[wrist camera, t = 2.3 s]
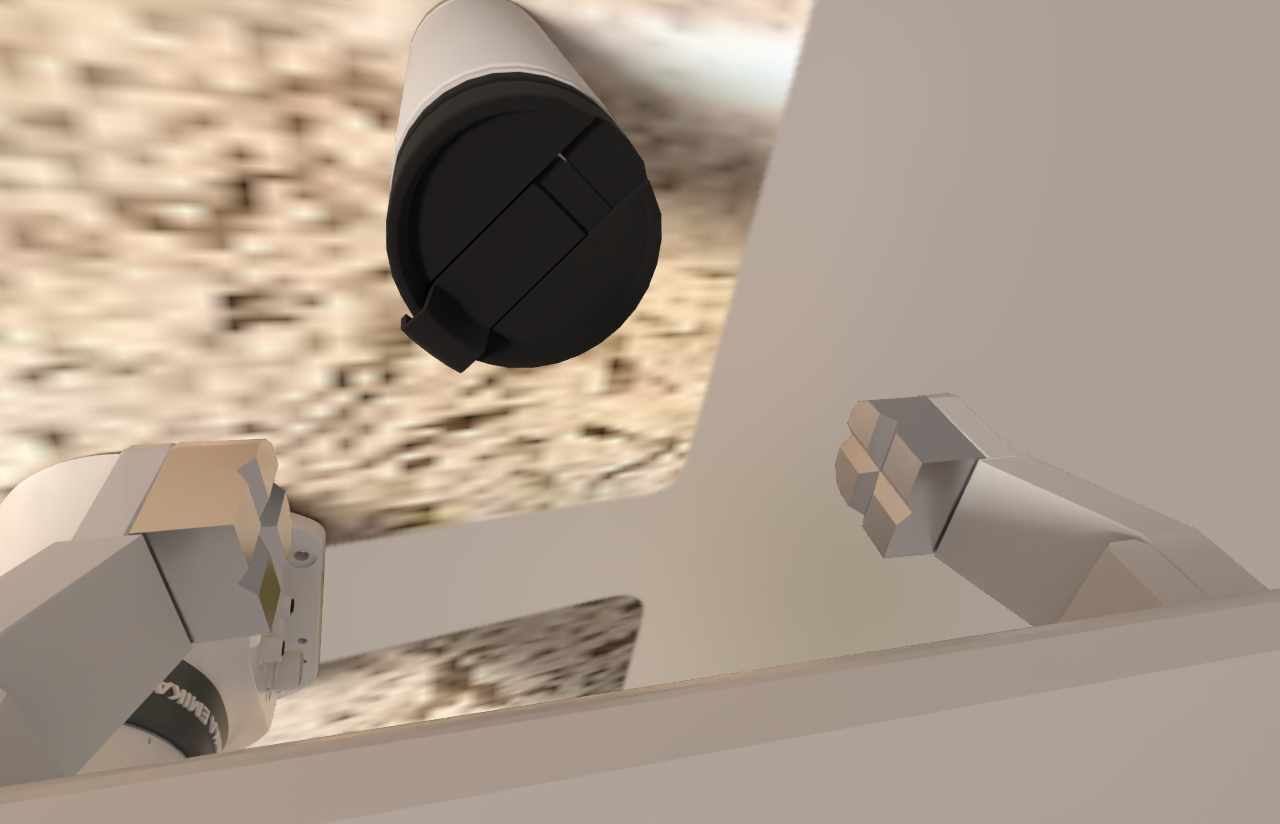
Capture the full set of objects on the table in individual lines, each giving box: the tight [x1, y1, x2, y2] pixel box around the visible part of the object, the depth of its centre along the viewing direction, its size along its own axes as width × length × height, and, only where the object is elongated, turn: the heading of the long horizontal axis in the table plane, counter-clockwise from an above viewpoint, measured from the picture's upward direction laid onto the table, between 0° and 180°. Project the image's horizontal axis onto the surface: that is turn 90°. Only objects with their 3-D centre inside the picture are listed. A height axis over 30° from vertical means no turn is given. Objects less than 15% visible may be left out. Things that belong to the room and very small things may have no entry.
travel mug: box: [386, 0, 662, 373], centre depth 23 cm, size 6×7×20 cm
